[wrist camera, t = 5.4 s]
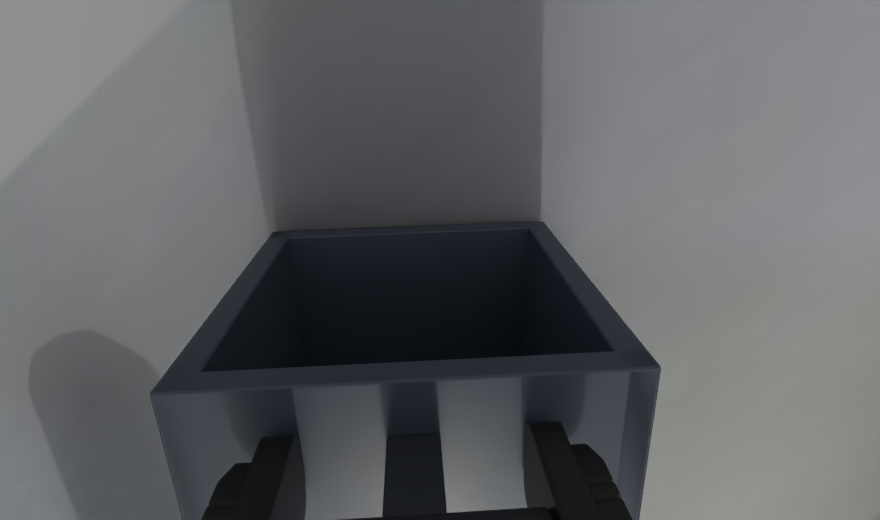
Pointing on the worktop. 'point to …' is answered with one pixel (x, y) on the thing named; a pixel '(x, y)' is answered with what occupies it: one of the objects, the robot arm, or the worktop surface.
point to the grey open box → (408, 372)
